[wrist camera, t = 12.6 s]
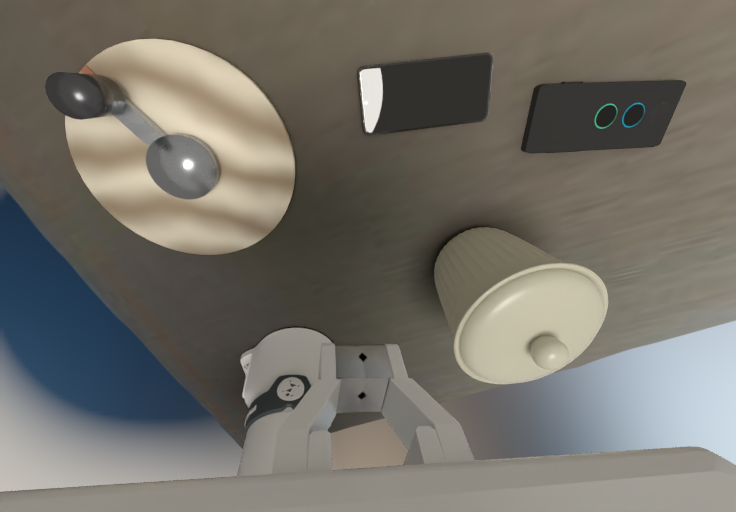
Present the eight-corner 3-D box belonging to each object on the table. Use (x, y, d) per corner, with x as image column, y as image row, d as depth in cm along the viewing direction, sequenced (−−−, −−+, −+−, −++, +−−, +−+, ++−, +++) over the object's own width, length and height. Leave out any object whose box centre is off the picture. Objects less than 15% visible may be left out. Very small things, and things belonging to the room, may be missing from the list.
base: (293, 254, 44) (292, 260, 42) (108, 243, 40) (100, 249, 38) (298, 63, 32) (296, 62, 31) (40, 18, 28) (24, 14, 27)
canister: (414, 310, 52) (462, 429, 34) (418, 212, 43) (486, 303, 25) (512, 298, 53) (608, 406, 35) (535, 202, 45) (681, 280, 26)
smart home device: (659, 147, 41) (525, 155, 40) (648, 145, 43) (517, 152, 41) (690, 78, 37) (541, 83, 35) (676, 79, 39) (532, 83, 37)
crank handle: (233, 169, 35) (218, 182, 31) (194, 206, 37) (174, 223, 32) (114, 53, 29) (72, 46, 24) (72, 103, 30) (25, 105, 26)
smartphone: (488, 120, 38) (363, 136, 36) (484, 120, 38) (362, 135, 37) (495, 51, 34) (357, 66, 33) (490, 52, 35) (356, 66, 34)
